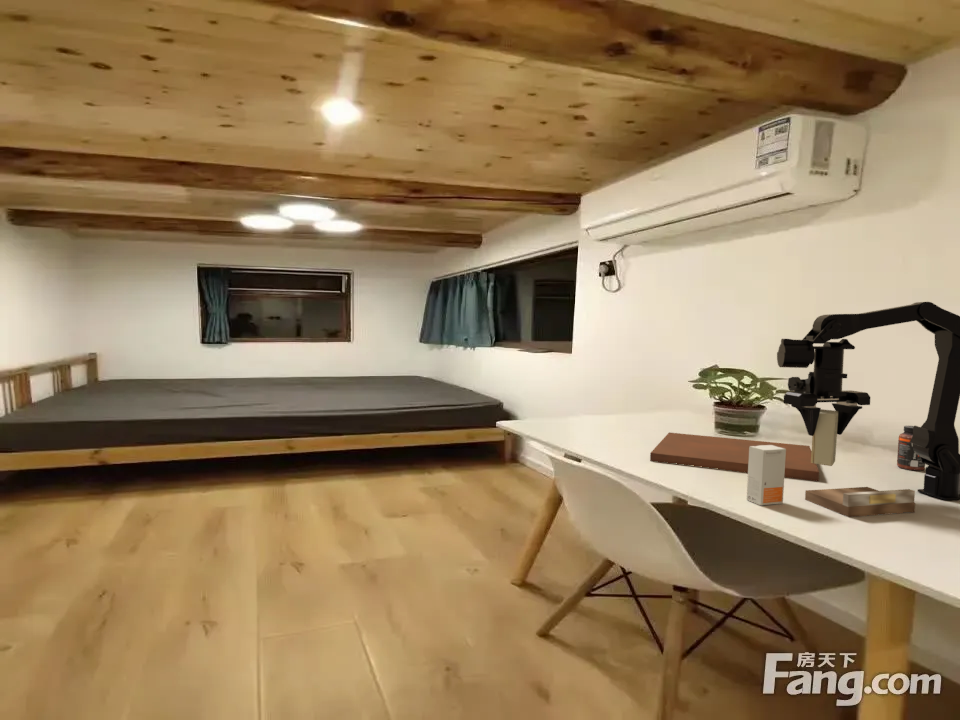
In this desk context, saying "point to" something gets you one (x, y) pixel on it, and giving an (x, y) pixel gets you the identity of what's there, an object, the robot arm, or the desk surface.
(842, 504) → the brown flat block
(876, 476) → the desk surface
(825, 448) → the skincare box
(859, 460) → the desk surface
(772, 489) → the skincare box
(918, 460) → the supplement bottle
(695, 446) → the brown wooden cutting board
